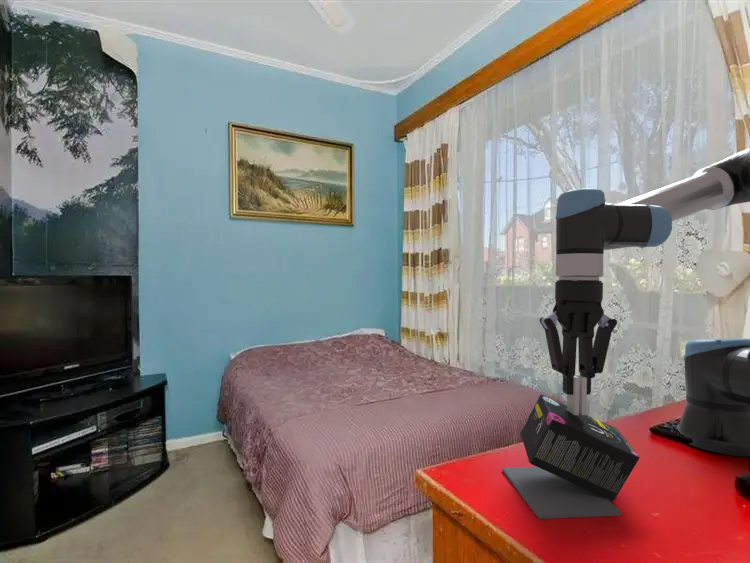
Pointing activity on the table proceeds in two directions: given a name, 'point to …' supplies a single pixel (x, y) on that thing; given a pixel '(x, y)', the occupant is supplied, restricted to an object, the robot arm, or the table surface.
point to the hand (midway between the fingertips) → (576, 412)
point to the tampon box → (578, 448)
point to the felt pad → (557, 495)
